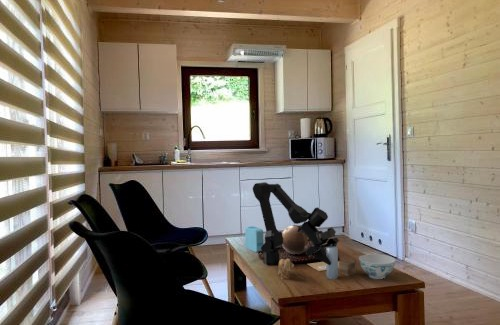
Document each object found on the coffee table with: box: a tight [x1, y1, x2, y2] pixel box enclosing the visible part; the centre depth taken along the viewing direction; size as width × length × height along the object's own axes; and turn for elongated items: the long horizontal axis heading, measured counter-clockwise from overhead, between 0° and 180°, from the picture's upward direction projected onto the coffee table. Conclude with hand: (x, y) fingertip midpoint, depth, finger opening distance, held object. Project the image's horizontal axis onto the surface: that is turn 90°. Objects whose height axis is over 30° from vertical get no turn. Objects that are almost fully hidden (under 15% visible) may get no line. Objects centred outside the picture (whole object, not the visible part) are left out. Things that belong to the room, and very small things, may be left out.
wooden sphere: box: [281, 224, 311, 255], centre depth 218 cm, size 15×15×15 cm
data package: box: [244, 225, 265, 253], centre depth 228 cm, size 12×4×12 cm, turn 31°
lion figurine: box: [277, 258, 295, 280], centre depth 182 cm, size 15×5×9 cm, turn 15°
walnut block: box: [338, 259, 357, 277], centre depth 185 cm, size 5×5×5 cm
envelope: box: [307, 260, 341, 272], centre depth 196 cm, size 16×12×1 cm
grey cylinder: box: [325, 245, 339, 280], centre depth 179 cm, size 5×5×13 cm
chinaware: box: [358, 253, 397, 280], centre depth 179 cm, size 15×15×8 cm
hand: (334, 262), depth 178 cm, fingers open, 7 cm apart
